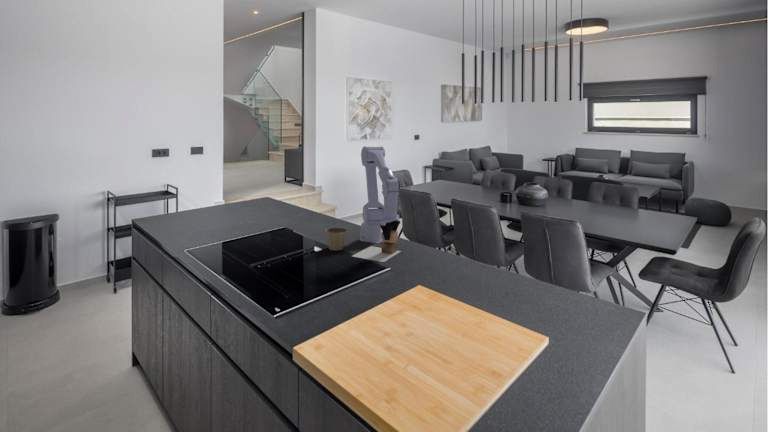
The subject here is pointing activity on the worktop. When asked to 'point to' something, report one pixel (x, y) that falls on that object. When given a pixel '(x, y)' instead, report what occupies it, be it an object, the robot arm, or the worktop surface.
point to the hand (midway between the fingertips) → (389, 238)
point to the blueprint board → (374, 254)
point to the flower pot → (336, 238)
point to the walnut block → (389, 247)
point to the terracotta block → (391, 237)
